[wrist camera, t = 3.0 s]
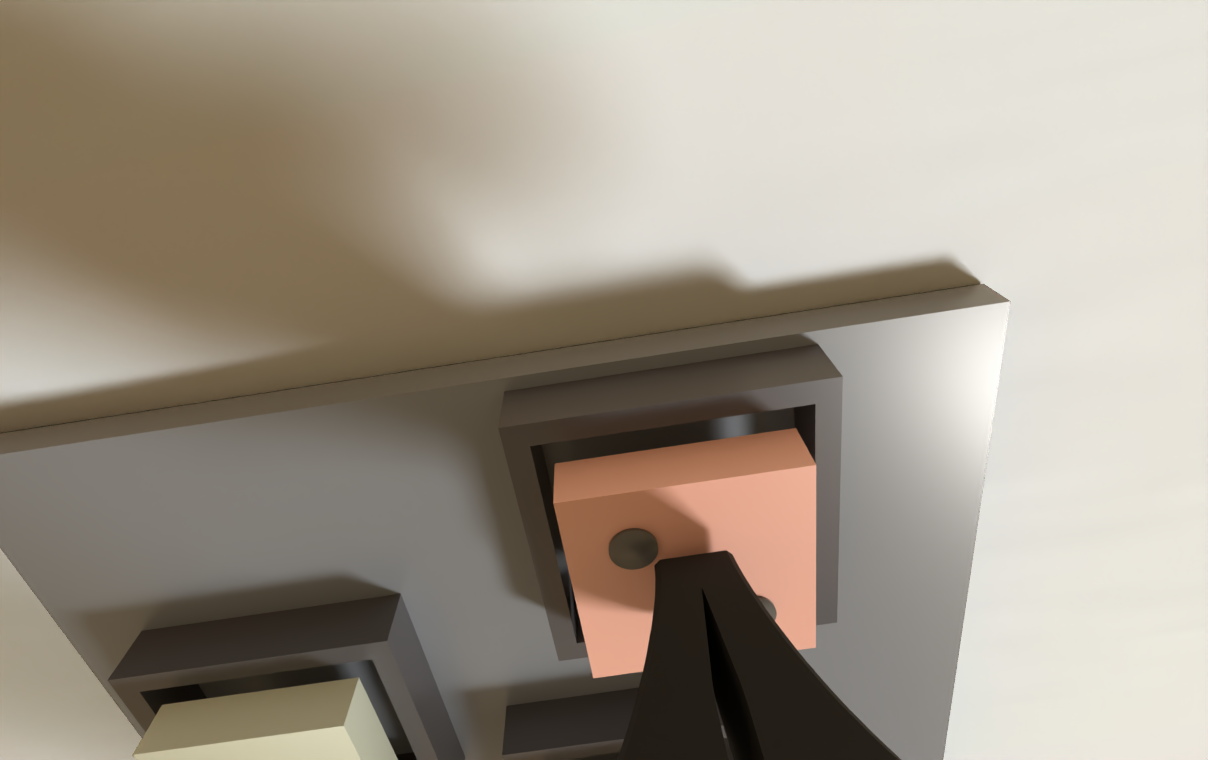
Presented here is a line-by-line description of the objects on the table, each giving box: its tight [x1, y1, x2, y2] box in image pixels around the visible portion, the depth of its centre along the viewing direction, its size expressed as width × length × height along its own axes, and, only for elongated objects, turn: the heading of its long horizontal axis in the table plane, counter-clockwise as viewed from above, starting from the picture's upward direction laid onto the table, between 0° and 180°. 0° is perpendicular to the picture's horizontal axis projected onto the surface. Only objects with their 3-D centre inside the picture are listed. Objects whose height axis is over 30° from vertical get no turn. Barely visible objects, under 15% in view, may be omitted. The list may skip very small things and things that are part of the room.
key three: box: [553, 428, 816, 678], centre depth 13 cm, size 5×5×1 cm
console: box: [0, 284, 1011, 760], centre depth 18 cm, size 18×22×2 cm
